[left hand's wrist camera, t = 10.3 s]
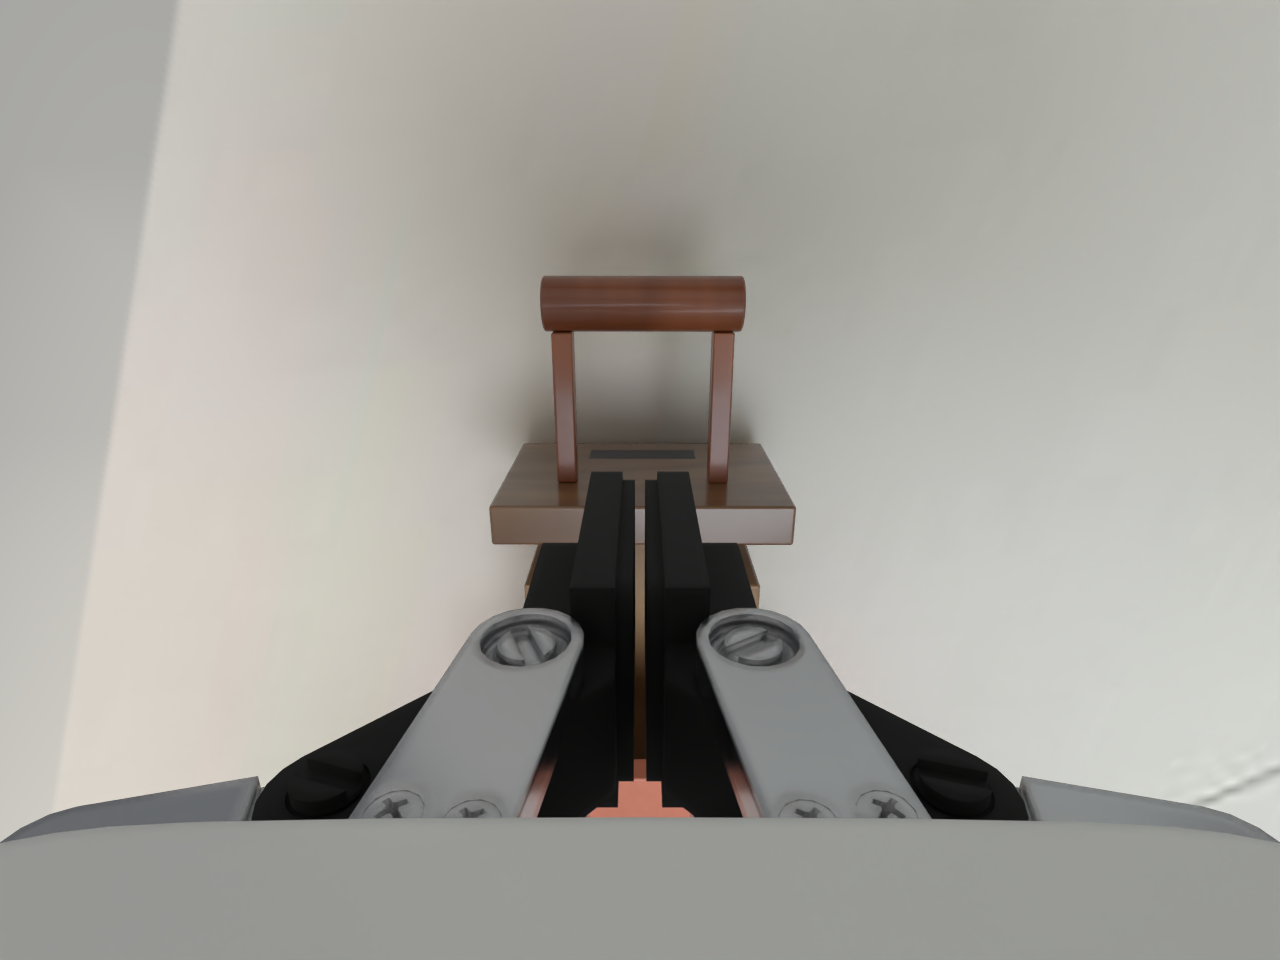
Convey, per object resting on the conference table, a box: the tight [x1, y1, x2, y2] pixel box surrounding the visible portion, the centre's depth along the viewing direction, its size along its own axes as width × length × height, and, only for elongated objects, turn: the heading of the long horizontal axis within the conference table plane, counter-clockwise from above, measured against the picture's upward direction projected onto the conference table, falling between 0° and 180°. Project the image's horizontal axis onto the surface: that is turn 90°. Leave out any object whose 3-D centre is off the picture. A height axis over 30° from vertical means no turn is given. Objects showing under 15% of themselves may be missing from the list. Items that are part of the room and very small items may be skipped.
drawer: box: [489, 276, 796, 759], centre depth 24 cm, size 22×9×6 cm, turn 0°
